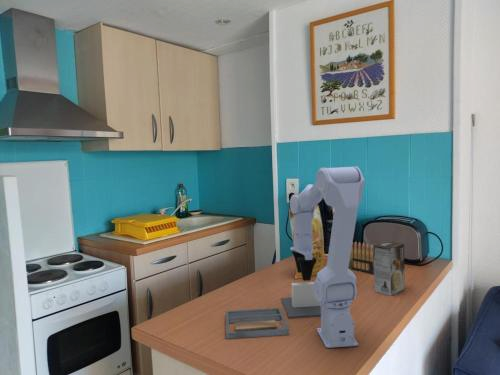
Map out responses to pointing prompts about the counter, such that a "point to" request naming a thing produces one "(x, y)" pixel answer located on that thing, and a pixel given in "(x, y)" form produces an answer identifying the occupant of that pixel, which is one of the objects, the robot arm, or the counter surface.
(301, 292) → the gray rectangular block
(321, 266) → the pancake mix bag
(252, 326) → the offcut stack
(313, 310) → the mat
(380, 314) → the counter surface
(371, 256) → the ammunition clip
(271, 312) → the rack
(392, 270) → the coffee box
